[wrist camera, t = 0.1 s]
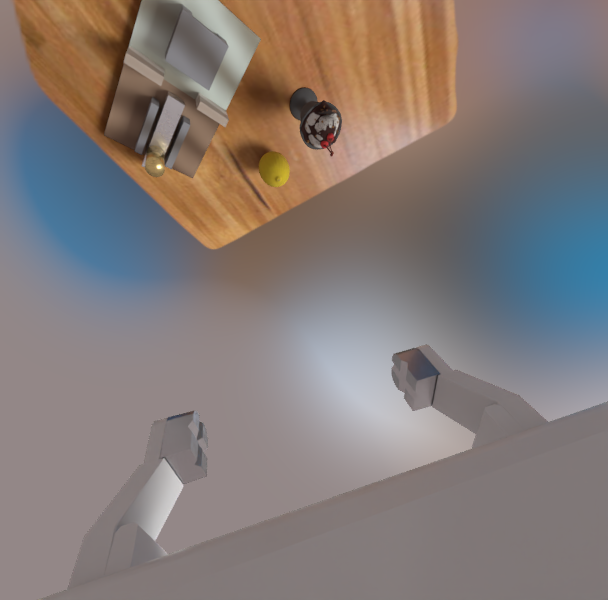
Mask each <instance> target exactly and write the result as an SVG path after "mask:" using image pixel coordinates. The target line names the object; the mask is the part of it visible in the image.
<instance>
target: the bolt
mask: <svg viewBox="0 0 608 600" xmlns="http://www.w3.org/2000/svg"><path fill="white" fill-rule="evenodd" d="M184 107H185V101H183V100H182V99H180V98H179V97H177V96H175V95H174V94H172V93H171V92H169V91H168V94H167V96H166V99H165V102H164V104H163V107H162V110H161V112H160V115H159V118H158V120H157V123H156V126H155V128H154V131H153V134H152V137H151V139H150V142H149V145H148V147H147V150H146V153H145V155H144V158H143V161H142V166H143V167H145V169H146V171H147V173H148V174H150V175H151V176H154V177H159V176H162V175H163V173H164V160H165V153H166V151H167V148H168V146H169V143H170V141H171V138H172V136H173V134H174V131H175V129H176V126H177V124H178V121H179V119H180V117H181V114H182V112H183V109H184Z"/></svg>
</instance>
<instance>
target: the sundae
mask: <svg viewBox="0 0 608 600" xmlns="http://www.w3.org/2000/svg"><path fill="white" fill-rule="evenodd" d="M290 110H291V113H292V115H293V116H294V117H295V118H296V119H298V120H301V124H300V134H301V137H302V139H303V141H304V143H305V144H306V145H307V146H308V147H310V148H312V149H324V148H327V149H328V150H329V148H328V147H329V146H331V145H332V144H333V143H335V142H336V139H337V138H338V136H339V133H340V130H341V124H342V119H341V114H340V112H339V111H338V109H337V108H336V107H335V106H334V105H332V104H331V103H329V102H326V101H324V100H323V101H322V102H317V97H316V95H315V93H314V92H313V91H312V90H311V89H309V88H301V89H299V90H297V91H296V92H295V93H294V94H293V96H292V98H291V101H290ZM330 149H331V147H330ZM329 151H330V150H329ZM330 153H331V154H330V156H333V151H332V150H331V151H330Z"/></svg>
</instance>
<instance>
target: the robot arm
mask: <svg viewBox="0 0 608 600" xmlns="http://www.w3.org/2000/svg"><path fill="white" fill-rule="evenodd" d="M392 361H393V363H394V366H393V367H392V377H393V381H394V383H395V385H396V387H397V388H398V390H400V391H402V392H404V393H405V395H404V399H405V400H406V402H407V403H408V404H409V406H410V407H411V409H412V410H413V411H415V410H418V409H422V408H426V407H429V406H432V407H433V408H435V409H437V410H438V411H440V412H441V413H443V414H445V415H446V416H448V417H450V418H451V419H453V420H454V421H456V422H458V423H459V424H461V425H462V426H464V427H466V428H467V429H469V430H470V431H472V432H473V433H475V434H476V436H475V439H474V442H473V446H472V449H470V450H467V451H464V452H462V453H459V454H456V455H453V456H450V457H447V458H444V459H441V460H438V461H436V462H433V463H430V464H427V465H424V466H421V467H418V468H415V469H413V470H410V471H407V472H404V473H401V474H398V475H395V476H392V477H389V478H386V479H383V480H381V481H378V482H375V483H372V484H369V485H366V486H363V487H360V488H357V489H355V490H352V491H349V492H346V493H343V494H340V495H337V496H334V497H332V498H329V499H326V500H323V501H320V502H317V503H315V504H311V505H309V506H306V507H303V508H300V509H297V510H294V511H291V512H289V513H286V514H283V515H280V516H277V517H274V518H271V519H268V520H265V521H263V522H260V523H257V524H254V525H251V526H248V527H245V528H242V529H240V530H237V531H234V532H231V533H229V534H225V535H222V536H219V537H217V538H214V539H211V540H208V541H205V542H202V543H200V544H197V545H194V546H191V547H188V548H185V549H182V550H180V551H176V552H173V553H171V554H167V553H166V551H165V550H164V549H163V548H162V547H161V546H160V545H158V544H157V543H156V542H155V540H156V538H157V536H158V534H159V533H160V531H161V529H162V527H163V525H164V523H165V521H166V519H167V517H168V515H169V513H170V511H171V509H172V507H173V505H174V503H175V502H176V500H177V498H178V496H179V494H180V492H181V490H182V488H183V486H184V485H183V484H186V483H189V482H192V481H195V480H197V479H200V478H203V477H206V476H207V457H206V455H205V454H204V452H205V451H206V449H207V448H208V439H207V432H206V428H205V426H204V424H203V423H202V422H200V421H199V414H198V412H197V411H191V412H187V413H183V414H179V415H175V416H172V417H168V418H164V419H161V420H157V421H154V423H153V424H152V427H151V432H150V436H149V440H148V445H147V450H146V455H145V459H144V464H141V465H139V466H138V467H137V469H136V470H135V471H134V473H133V474H132V475H131V477H130V478H129V479H128V480H127V482H126V483H125V484H124V486H123V487H122V488H121V490H120V491H119V492H118V493H117V495H116V496H115V497H114V499H113V500H112V501H111V502H110V504H109V505H108V506H107V508H106V509H105V510H104V512H103V513H102V514H101V515H100V517H99V518H98V519H97V521H96V522H95V523H94V525H93V526H92V527H91V529H90V530H89V531H88V532H87V534H86V535H85V536H84V538H83V542H82V545H81V548H80V551H79V554H78V557H77V560H76V563H75V567H74V570H73V573H72V576H71V579H70V582H69V586H68V589H67V590H64V591H62V592H59V593H56V594H53V595H50V596H47V597H44V598H41V599H38V600H608V402H605V403H602V404H599V405H597V406H593V407H591V408H588V409H585V410H582V411H579V412H576V413H574V414H570V415H568V416H565V417H562V418H559V419H556V420H553V421H550V422H548V421H547V420H546V419H544V418H543V417H542V416H541V415H540V414H539V413H538V412H537V411H536V410H535V409H534V408H532V407H531V406H530V405H529V404H528V403H527V402H526V401H524V399H523V398H521V397H520V396H519V395H517V394H514V393H512V392H510V391H507V390H505V389H502V388H500V387H497V386H495V385H493V384H490V383H488V382H485V381H483V380H480V379H478V378H475V377H473V376H470V375H468V374H465V373H463V372H461V371H458V370H454V371H453V370H452V369H451V368H450V367H449V366H448V365H447V364H446V363H445V362H444V360H443V359H441V357H440V356H439V355H438V354H437V353H436V352H435V351H434V350H433V349H432V348H431V347H430V346H429V345H423V346H420V347H417V348H412V349H409V350H406V351H402V352H399V353H395V354H394V355H393V357H392Z"/></svg>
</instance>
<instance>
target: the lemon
mask: <svg viewBox="0 0 608 600" xmlns="http://www.w3.org/2000/svg"><path fill="white" fill-rule="evenodd" d="M259 173H260V175H261V178H262V179H263V180H264V182H265V183H267V184H268V185H270V186H272V187H279V186H282V185H283V184H285V183H286V181H287V180H288V177H289V165H288V162H287V160H286V159H285V158H284V156H283V155H281V154H280V153H278V152H273V151H272V152H268V153H266V154H264V155H263V156H262V158H261V159H260V162H259Z"/></svg>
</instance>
